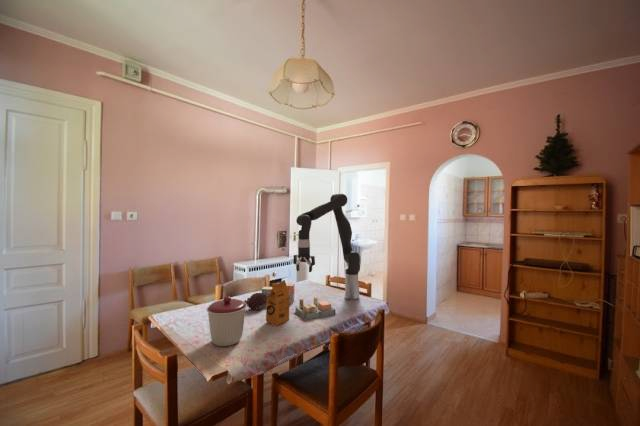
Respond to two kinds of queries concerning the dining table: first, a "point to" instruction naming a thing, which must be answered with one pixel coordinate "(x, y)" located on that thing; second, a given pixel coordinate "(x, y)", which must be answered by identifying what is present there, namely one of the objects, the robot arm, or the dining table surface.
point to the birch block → (307, 307)
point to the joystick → (322, 304)
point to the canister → (226, 321)
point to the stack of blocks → (290, 288)
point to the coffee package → (278, 304)
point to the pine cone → (256, 300)
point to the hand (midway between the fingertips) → (304, 271)
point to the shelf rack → (315, 313)
